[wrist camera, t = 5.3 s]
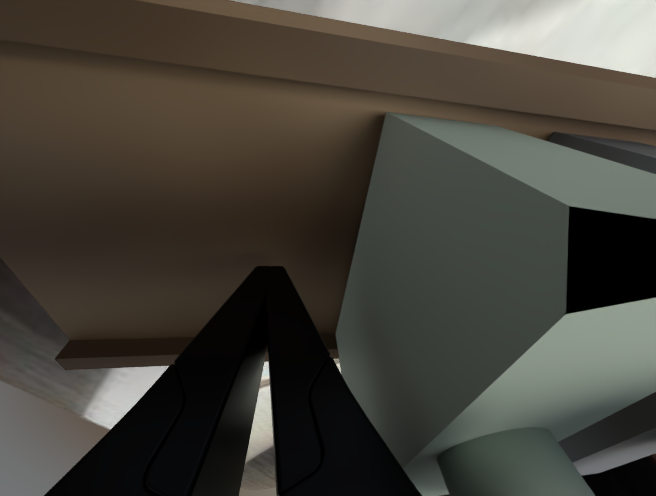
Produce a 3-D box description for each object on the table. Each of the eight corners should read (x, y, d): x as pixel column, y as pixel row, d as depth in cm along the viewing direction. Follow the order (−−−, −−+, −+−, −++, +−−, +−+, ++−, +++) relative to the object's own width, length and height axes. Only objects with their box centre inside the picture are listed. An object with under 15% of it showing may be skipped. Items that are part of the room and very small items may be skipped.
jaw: (397, 332, 12) (483, 556, 6) (335, 334, 11) (373, 578, 6) (494, 125, 6) (1460, 420, 1) (386, 111, 6) (1171, 513, 1)
